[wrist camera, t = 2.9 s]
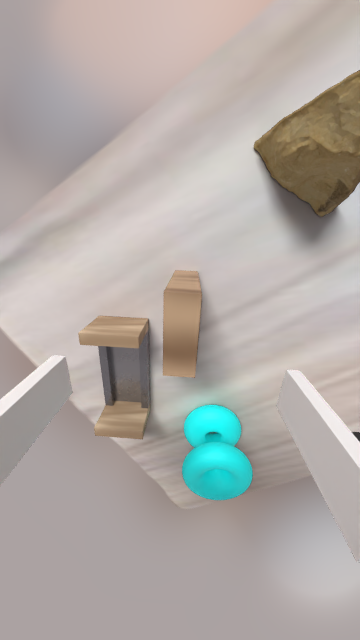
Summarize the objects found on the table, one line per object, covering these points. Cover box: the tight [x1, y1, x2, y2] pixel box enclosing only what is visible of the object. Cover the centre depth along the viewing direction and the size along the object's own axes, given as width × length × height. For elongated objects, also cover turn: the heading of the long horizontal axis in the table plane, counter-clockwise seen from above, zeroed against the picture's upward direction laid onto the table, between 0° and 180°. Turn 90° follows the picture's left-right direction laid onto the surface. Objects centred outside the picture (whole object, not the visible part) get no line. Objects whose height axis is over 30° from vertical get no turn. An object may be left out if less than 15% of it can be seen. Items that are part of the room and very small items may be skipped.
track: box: [98, 329, 150, 408], centre depth 32 cm, size 14×7×2 cm, turn 178°
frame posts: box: [78, 316, 150, 439], centre depth 30 cm, size 18×7×6 cm, turn 178°
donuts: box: [182, 405, 253, 500], centre depth 32 cm, size 10×10×10 cm
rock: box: [254, 70, 360, 217], centre depth 20 cm, size 11×9×10 cm
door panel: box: [163, 270, 202, 378], centre depth 23 cm, size 8×3×12 cm, turn 178°
